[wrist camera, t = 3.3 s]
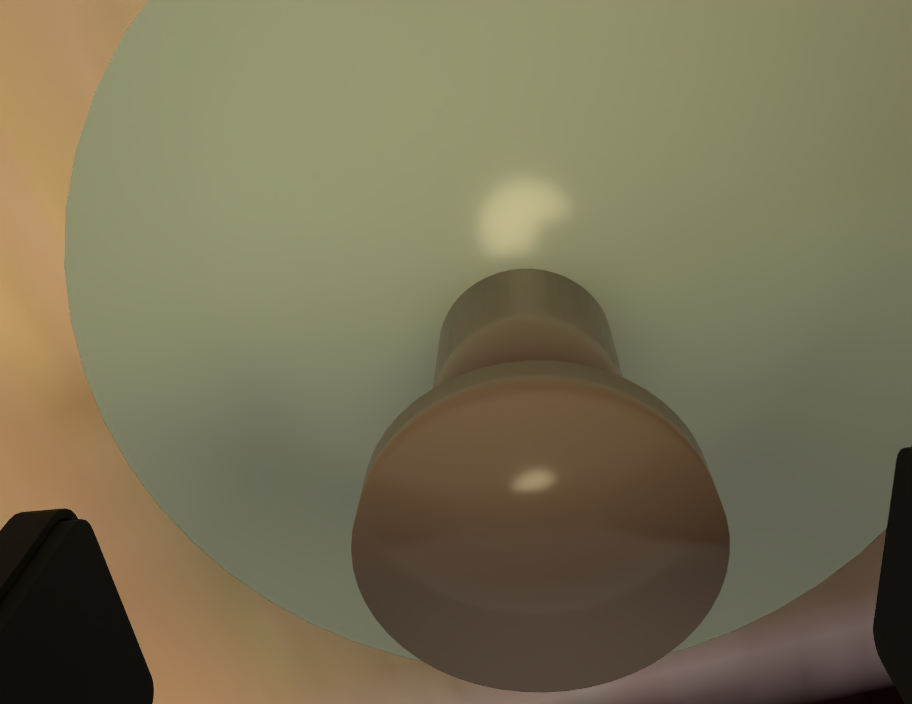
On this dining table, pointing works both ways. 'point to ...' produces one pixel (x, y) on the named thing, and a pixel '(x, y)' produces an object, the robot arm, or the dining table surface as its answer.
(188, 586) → the dining table surface
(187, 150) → the lid
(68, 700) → the robot arm
